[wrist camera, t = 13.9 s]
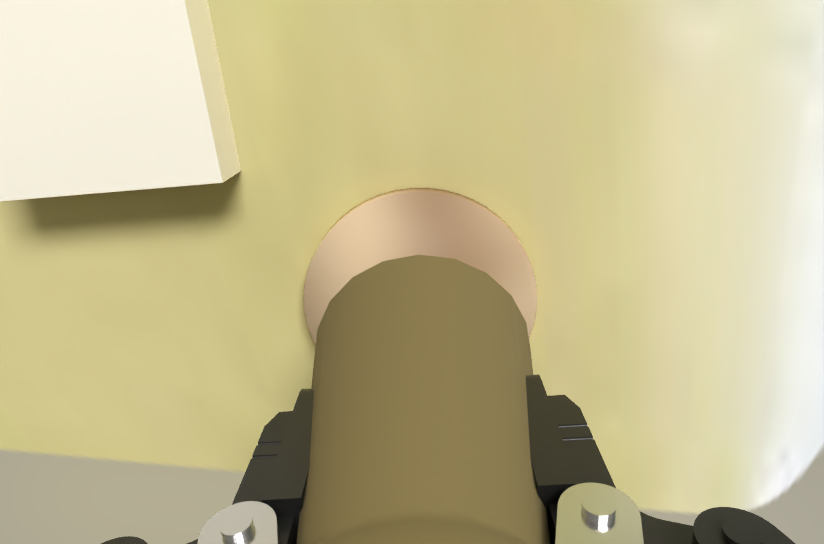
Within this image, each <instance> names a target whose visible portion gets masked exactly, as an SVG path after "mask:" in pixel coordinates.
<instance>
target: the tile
mask: <svg viewBox="0 0 824 544" xmlns="http://www.w3.org/2000/svg"><path fill="white" fill-rule="evenodd" d="M240 171H241V168H240V163H239V158H238V153H237V147H236V142H235V137H234V132H233V127H232V122H231V117H230V112H229V107H228V102H227V97H226V92H225V87H224V81H223V76H222V71H221V66H220V61H219V56H218V51H217V46H216V41H215V36H214V31H213V26H212V20H211V15H210V10H209V5H208V0H0V201H10V200H22V199H34V198H46V197H58V196H70V195H81V194H93V193H105V192H117V191H129V190H141V189H153V188H165V187H177V186H189V185H201V184H213V183H223V182H225V181H226V180H228V179H229V178H231V177H232V176H234V175H235V174H237V173H238V172H240Z"/></svg>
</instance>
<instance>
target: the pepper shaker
mask: <svg viewBox="0 0 824 544" xmlns="http://www.w3.org/2000/svg"><path fill="white" fill-rule="evenodd" d="M527 375H533V369H532V360H531V351H530V344H529V337H528V330H527V323H526V321H525V319H524V317H523V316H522V314H521V312H520V310H519V308H518V306H517V305H516V303H515V301H514V299H513V297H512V295H511V294H510V293H508V292H507V291H506V290H505V289H504V288H503V287H502V286H501V285H500V284H498V283H497V282H496V281H495V280H494V279H493V278H492V277H491V276H490V275H488V274H487V273H486V272H484V271H481V270H479V269H477V268H474V267H472V266H470V265H468V264H465V263H463V262H461V261H459V260H456V259H453V258H444V257H436V256H427V255H413V256H408V257H402V258H397V259H392V260H386V261H382V262H380V263H378V264H377V265H375V266H373V267H371V268H369V269H367V270H365V271H363V272H362V273H360V274H358V275H356V276H354V277H352V278H351V279H350V280H349V281H348V282H347V284H346V285H345V286H344V287H343V288H342V289H341V290H340V291H339V292H338V293H337V294H336V295H335V296H334V297H333V298H332V299H331V300H330V302H329V304H328V306H327V309H326V311H325V313H324V315H323V318H322V320H321V322H320V324H319V327H318V329H317V337H316V348H315V358H314V368H313V379H312V389H314V399H313V415H312V431H311V447H310V463H309V472H308V478H307V484H306V490H305V496H304V502H303V507H302V509H301V511H300V514H299V524H298V535H297V544H551V541H550V533H549V525H548V518H547V512H546V508H545V506H544V505H543V503H542V501H541V500H540V498H539V496H538V493H537V488H536V483H535V478H534V473H533V468H532V463H531V458H530V442H529V425H528V409H527V393H526V376H527Z"/></svg>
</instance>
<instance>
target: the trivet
mask: <svg viewBox="0 0 824 544" xmlns="http://www.w3.org/2000/svg"><path fill="white" fill-rule="evenodd" d="M413 255H427V256H436V257H444V258H453V259H456V260H459V261H461V262H463V263H465V264H468V265H470V266H472V267H474V268H477V269H479V270H481V271H484V272H486V273H487V274H488V275H490V276H491V277H492V278H493V279H494V280H495V281H496V282H497V283H498V284H500V285H501V286H502V287H503V288H504V289H505V290H506V291H507V292H508V293H510V294H511V295H512V297H513V299H514V301H515V303H516V305H517V306H518V308H519V310H520V312H521V314H522V316H523V317H524V319H525V321H526V323H527V330H528V337H530V334H531V331H532V329H533V326H534V321H535V317H536V311H537V286H536V281H535V276H534V272H533V269H532V266H531V263H530V261H529V258H528V256H527V254H526V252H525V250H524V249H523V247H522V245H521V243H520V241H519V240H518V238H517V237H516V235H515V234H514V233H513V231H512V230H511V229H510V227H509V226H508V225H507V224H506V223H505V222H504V221H503V220H502V219H501V218H500V217H499V216H497V215H496V214H495V213H493V212H492V211H491V210H489V209H488V208H487V207H485V206H483V205H482V204H480V203H478V202H476V201H475V200H473V199H470V198H468V197H465V196H463V195H460V194H457V193H453V192H449V191H445V190H440V189H431V188H409V189H402V190H395V191H391V192H388V193H384V194H381V195H378V196H376V197H373V198H371V199H369V200H366V201H364V202H363V203H361V204H359V205H358V206H356V207H354V208H353V209H351V210H350V211H349V212H347V213H346V214H345V215H344V216H342V217H341V218H340V219H339V220H338V221H337V222H336V223H335V224H334V225H333V226H332V227H331V228H330V230H329V231H328V232H327V234H326V235H325V237H324V238H323V239H322V241H321V243H320V245H319V247H318V249H317V250H316V252H315V254H314V256H313V258H312V260H311V263H310V266H309V269H308V272H307V276H306V281H305V286H304V310H305V317H306V321H307V325H308V329H309V332H310V334H311V337H312V339H313V341H314V343H315V345H316V337H317V329H318V327H319V324H320V322H321V320H322V318H323V315H324V313H325V311H326V309H327V306H328V304H329V302H330V300H331V299H332V298H333V297H334V296H335V295H336V294H337V293H338V292H339V291H340V290H341V289H342V288H343V287H344V286H345V285H346V284H347V282H348V281H349V280H350V279H351V278H352V277H354V276H356V275H358V274H360V273H362V272H363V271H365V270H367V269H369V268H371V267H373V266H375V265H377V264H378V263H380V262H382V261H386V260H392V259H397V258H402V257H408V256H413Z"/></svg>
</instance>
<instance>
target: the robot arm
mask: <svg viewBox="0 0 824 544" xmlns="http://www.w3.org/2000/svg"><path fill="white" fill-rule="evenodd" d="M526 393H527V409H528V425H529V442H530V458H531V463H532V468H533V473H534V478H535V483H536V488H537V493H538V496H539V498H540V500H541V501H542V503H543V505H544V506H545V508H546V512H547V518H548V525H549V533H550V541H551V544H795V543H794V542H793V541H792V540H790V539H789V538H788V537H787V536H786V535H784V534H783V533H782V532H781V531H780V530H778V529H777V528H776V527H775V526H773V525H772V524H771V523H769V522H768V521H766V520H764V519H763V518H761V517H759V516H757V515H755V514H753V513H750V512H747V511H745V510H741V509H737V508H730V507H716V508H711V509H708V510H706V511H703V512H702V513H701V514H699V515H698V517H697V518H696V520H695V522H694V526H690V525H685V524H680V523H675V522H670V521H665V520H661V519H657V518H654V517H651V516H648V515H646V514H644V513H642V512H640V511H639V509H638V507H637V505H636V504H635V503H634V501H633V500H632V499H631V498H630V497H629V496H627V495H626V494H625V493H623V492H622V491H620V490H618V489H616V487H615V485H614V483H613V481H612V478H611V476H610V474H609V472H608V469H607V467H606V465H605V463H604V461H603V458H602V456H601V454H600V452H599V449H598V447H597V445H596V443H595V440H593V436H592V434H591V432H590V429H589V427H587V423H586V420H585V418H584V416H583V414H582V411H581V409H580V408H579V407H578V406H577V405H576V404H575V403H574V402H572V401H571V400H570V399H569V398H568V397H566V396H565V395H555V396H547V394H546V391H545V389H544V386H543V383H542V380H541V378H540V376H539V375H527V376H526ZM313 399H314V389H302V390H301V391H300V393H299V396H298V398H297V401H296V404H295V407H294V410H293V411H289V412H279V413H278V414H277V415H276V416H275V417H274V418H273V419H272V420H271V421H270V422H269V423H268V424H267V425H266V426H265V427H264V429H263V432H262V434H261V437H260V439H259V441H258V446H256V448H255V451H254V453H253V458H252V459H251V460H250V463H249V465H248V468H247V470H246V472H245V475H244V477H243V480H242V482H241V484H240V487H239V489H238V492H237V494H236V496H235V499H234V501H233V504H232V505H231V506H228V507H226V508H224V509H222V510H221V511H219V512H218V513H216V514H215V515H214V516H213V517H211V518H210V519H209V520H208V521H207V522H206V524H205V525H204V527H203V528H202V530H201V532H200V534H199V538H198V539H197V540H195V541H193V542H190V543H188V544H297V535H298V524H299V514H300V511H301V509H302V507H303V502H304V496H305V490H306V484H307V478H308V472H309V463H310V447H311V431H312V415H313ZM102 544H147V543H146V542H145V541H144V540H142V539H140V538H137V537H119V538H115V539H112V540H109V541H106V542H104V543H102Z"/></svg>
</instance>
